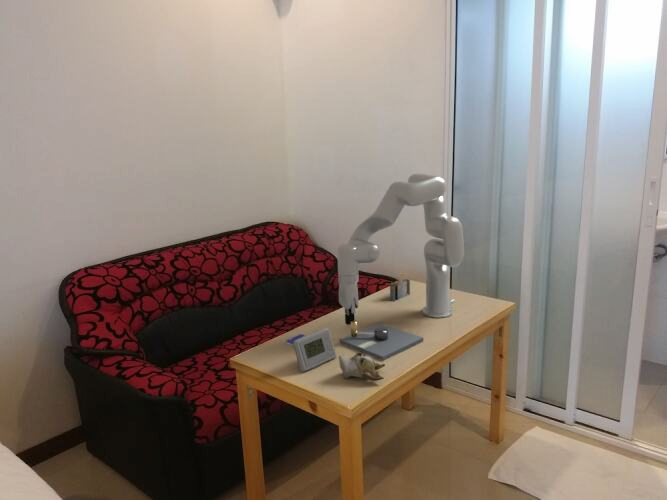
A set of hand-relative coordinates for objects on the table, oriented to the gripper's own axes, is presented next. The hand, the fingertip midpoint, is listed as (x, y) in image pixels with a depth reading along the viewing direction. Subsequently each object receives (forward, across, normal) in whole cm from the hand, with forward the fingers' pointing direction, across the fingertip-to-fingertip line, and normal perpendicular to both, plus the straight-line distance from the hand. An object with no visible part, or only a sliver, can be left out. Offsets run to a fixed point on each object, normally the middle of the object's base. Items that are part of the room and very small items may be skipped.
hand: (349, 323), depth 212 cm
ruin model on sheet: (+6, -34, +36) cm, 50 cm away
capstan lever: (+4, +7, +5) cm, 9 cm away
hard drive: (+6, -1, -18) cm, 19 cm away
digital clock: (+6, +16, -18) cm, 25 cm away
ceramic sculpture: (+6, +31, -7) cm, 33 cm away
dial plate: (+6, +9, +9) cm, 14 cm away
